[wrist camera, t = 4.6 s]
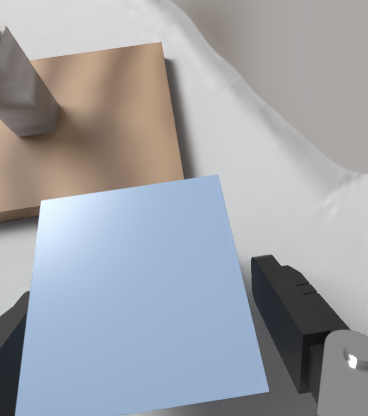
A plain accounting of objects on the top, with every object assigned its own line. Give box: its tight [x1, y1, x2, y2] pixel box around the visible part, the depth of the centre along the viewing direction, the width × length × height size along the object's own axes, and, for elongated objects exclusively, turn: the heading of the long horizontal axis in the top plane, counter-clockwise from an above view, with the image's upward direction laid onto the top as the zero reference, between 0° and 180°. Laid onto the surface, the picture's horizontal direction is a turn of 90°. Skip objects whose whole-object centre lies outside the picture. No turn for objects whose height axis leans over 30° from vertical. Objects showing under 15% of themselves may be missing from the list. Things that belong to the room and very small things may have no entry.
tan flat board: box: [0, 26, 184, 222], centre depth 17 cm, size 22×16×8 cm
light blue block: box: [15, 175, 269, 416], centre depth 10 cm, size 6×6×9 cm
